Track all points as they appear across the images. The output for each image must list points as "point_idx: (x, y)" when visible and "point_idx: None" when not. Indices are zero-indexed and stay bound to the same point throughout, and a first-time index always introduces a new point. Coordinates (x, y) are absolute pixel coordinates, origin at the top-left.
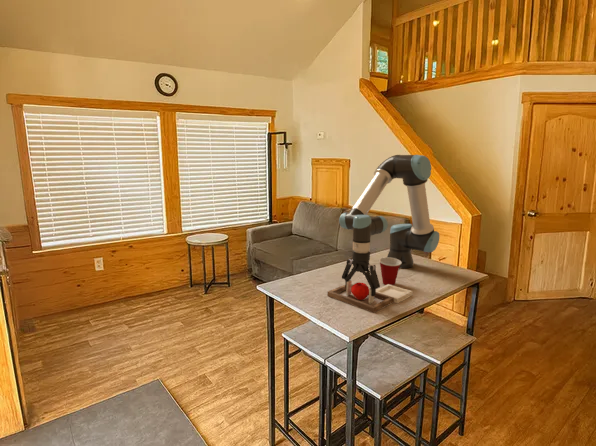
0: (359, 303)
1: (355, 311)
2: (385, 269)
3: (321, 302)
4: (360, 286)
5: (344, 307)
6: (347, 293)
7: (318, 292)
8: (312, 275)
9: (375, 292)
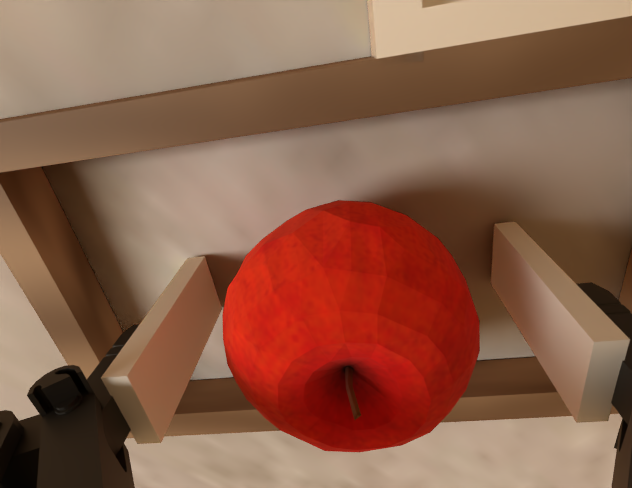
0: (485, 416)
1: (493, 438)
2: None
3: (221, 483)
4: (410, 440)
5: None
6: (212, 324)
7: None
8: None
9: (630, 315)
